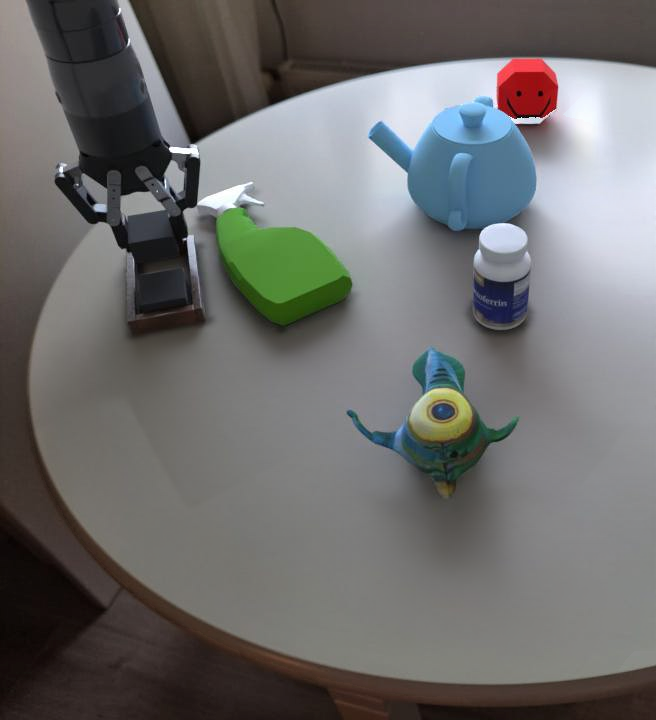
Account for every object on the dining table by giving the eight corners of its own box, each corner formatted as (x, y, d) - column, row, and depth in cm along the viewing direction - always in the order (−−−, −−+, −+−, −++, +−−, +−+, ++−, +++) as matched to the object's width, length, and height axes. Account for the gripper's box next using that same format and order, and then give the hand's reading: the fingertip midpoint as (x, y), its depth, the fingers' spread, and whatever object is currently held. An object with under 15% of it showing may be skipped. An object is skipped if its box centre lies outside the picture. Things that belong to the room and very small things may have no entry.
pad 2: (147, 324, 82) (139, 305, 80) (146, 293, 86) (139, 274, 84) (191, 316, 83) (185, 297, 81) (188, 286, 87) (182, 267, 85)
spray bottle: (270, 335, 81) (179, 220, 95) (363, 294, 86) (263, 190, 100) (264, 313, 79) (172, 199, 93) (361, 272, 84) (259, 169, 98)
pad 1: (135, 263, 83) (127, 243, 82) (134, 235, 87) (127, 215, 85) (179, 256, 84) (172, 236, 82) (176, 228, 88) (170, 208, 86)
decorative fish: (538, 433, 73) (542, 389, 69) (447, 520, 66) (446, 477, 62) (433, 365, 79) (431, 321, 75) (341, 439, 72) (333, 395, 68)
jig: (132, 335, 81) (127, 321, 80) (130, 258, 90) (125, 245, 88) (205, 321, 83) (201, 308, 82) (197, 247, 91) (193, 234, 90)
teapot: (523, 260, 91) (530, 162, 81) (351, 239, 93) (339, 141, 84) (543, 166, 104) (551, 73, 95) (393, 150, 106) (386, 57, 97)
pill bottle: (461, 317, 84) (461, 240, 77) (492, 288, 87) (495, 212, 80) (507, 340, 82) (512, 263, 74) (537, 309, 85) (544, 232, 78)
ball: (498, 132, 110) (500, 79, 104) (495, 103, 116) (496, 51, 110) (556, 132, 110) (561, 79, 105) (550, 103, 116) (555, 51, 110)
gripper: (182, 65, 77) (221, 213, 89) (22, 85, 74) (85, 235, 86) (187, 102, 72) (228, 253, 84) (15, 125, 69) (83, 278, 81)
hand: (155, 243), depth 85 cm, fingers closed on pad 1, 4 cm apart
